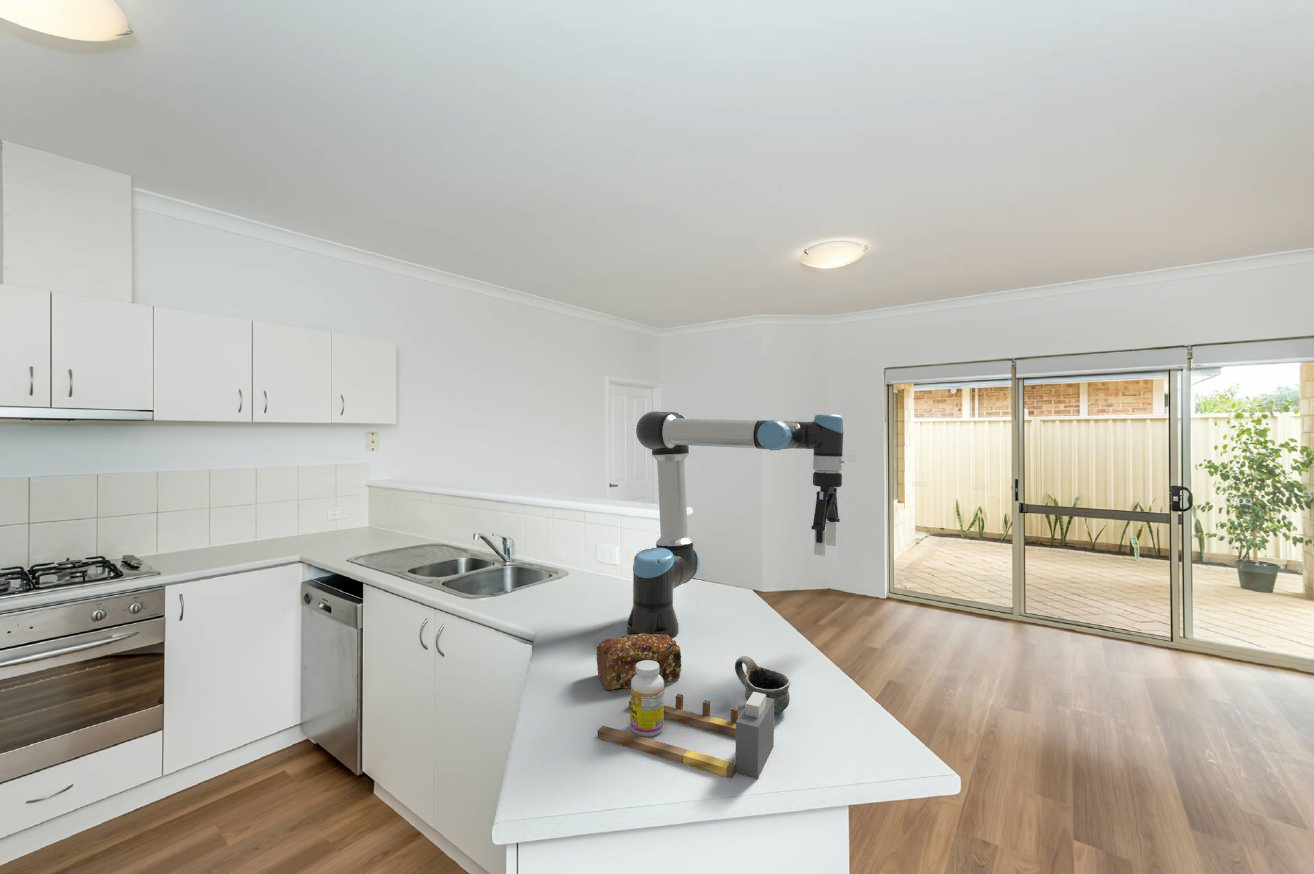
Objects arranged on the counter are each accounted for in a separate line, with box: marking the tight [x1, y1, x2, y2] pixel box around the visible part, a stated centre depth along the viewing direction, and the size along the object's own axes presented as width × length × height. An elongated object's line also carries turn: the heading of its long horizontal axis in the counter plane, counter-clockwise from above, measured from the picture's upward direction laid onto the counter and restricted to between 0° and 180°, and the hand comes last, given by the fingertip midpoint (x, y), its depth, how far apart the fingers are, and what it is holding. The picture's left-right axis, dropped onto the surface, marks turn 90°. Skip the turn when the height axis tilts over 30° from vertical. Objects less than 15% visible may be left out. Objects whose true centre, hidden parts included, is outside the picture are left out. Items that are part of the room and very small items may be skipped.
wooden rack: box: [596, 693, 739, 779], centre depth 107 cm, size 27×16×4 cm, turn 64°
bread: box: [595, 633, 682, 691], centre depth 132 cm, size 19×11×10 cm, turn 109°
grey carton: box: [733, 692, 775, 780], centre depth 100 cm, size 4×11×11 cm, turn 154°
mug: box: [734, 655, 791, 716], centre depth 118 cm, size 10×12×10 cm
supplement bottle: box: [629, 660, 665, 738], centre depth 109 cm, size 7×7×13 cm
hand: (825, 550), depth 149 cm, fingers open, 13 cm apart
